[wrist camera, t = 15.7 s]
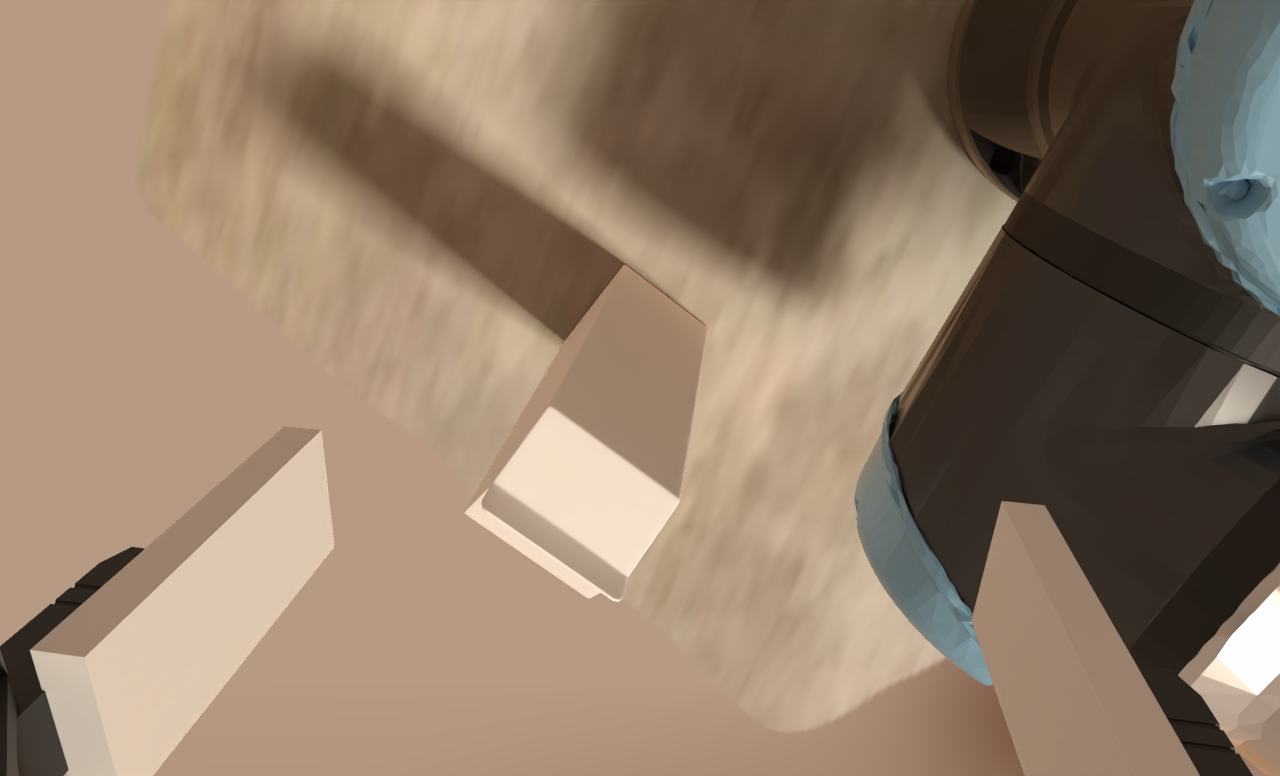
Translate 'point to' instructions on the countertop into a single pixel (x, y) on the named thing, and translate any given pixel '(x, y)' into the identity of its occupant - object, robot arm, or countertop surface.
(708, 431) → the countertop surface
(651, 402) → the milk
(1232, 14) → the robot arm
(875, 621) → the countertop surface
